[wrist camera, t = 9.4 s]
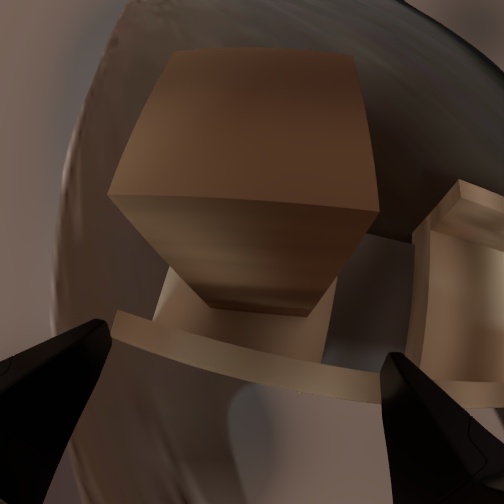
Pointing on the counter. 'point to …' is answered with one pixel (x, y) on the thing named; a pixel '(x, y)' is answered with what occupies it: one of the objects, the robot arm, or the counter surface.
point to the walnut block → (252, 174)
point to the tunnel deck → (363, 315)
